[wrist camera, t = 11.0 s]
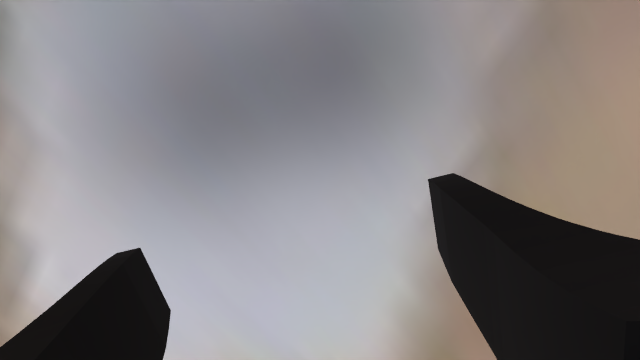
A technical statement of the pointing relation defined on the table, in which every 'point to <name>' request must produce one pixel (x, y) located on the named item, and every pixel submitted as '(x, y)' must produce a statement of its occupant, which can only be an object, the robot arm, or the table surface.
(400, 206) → the table surface
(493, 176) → the table surface
